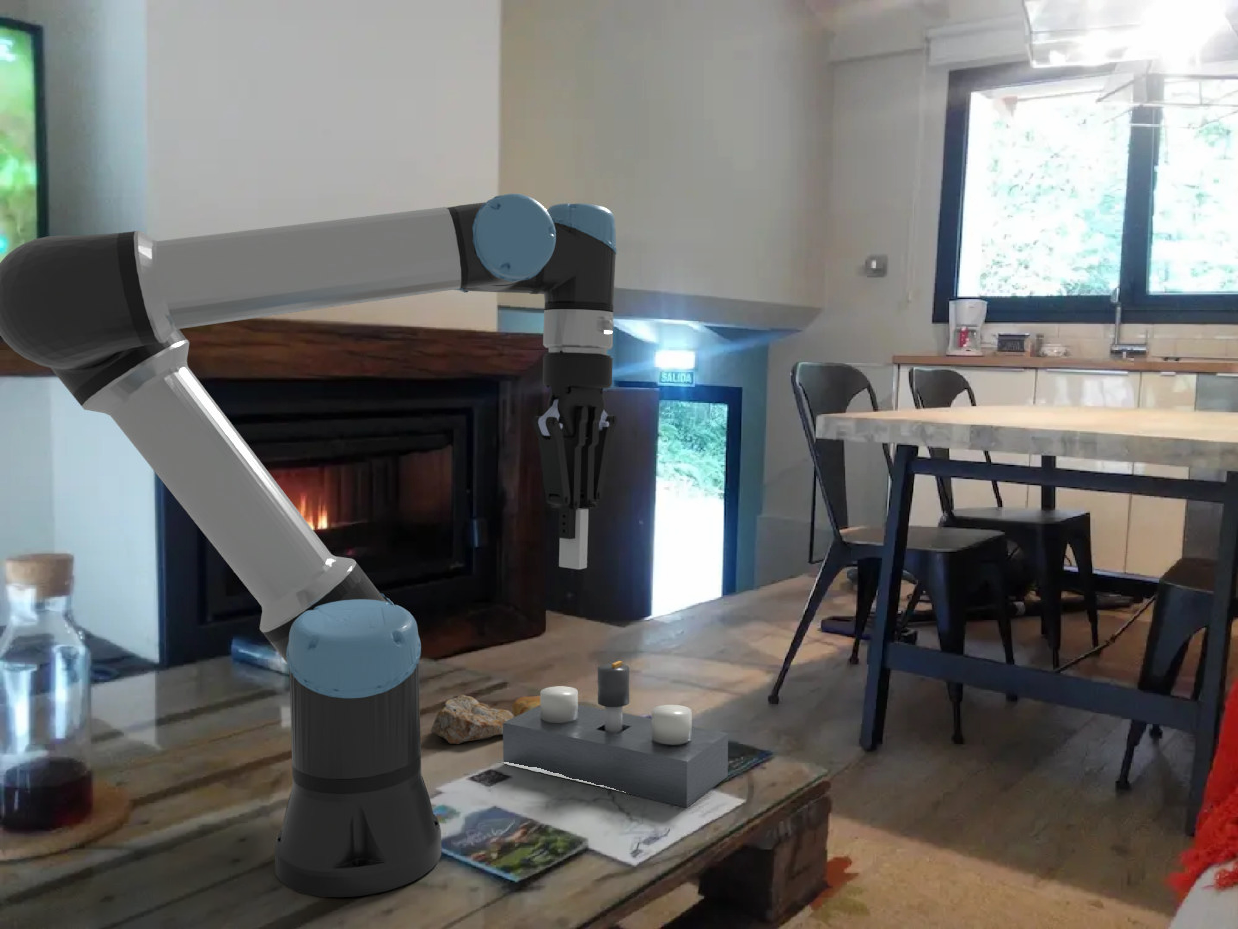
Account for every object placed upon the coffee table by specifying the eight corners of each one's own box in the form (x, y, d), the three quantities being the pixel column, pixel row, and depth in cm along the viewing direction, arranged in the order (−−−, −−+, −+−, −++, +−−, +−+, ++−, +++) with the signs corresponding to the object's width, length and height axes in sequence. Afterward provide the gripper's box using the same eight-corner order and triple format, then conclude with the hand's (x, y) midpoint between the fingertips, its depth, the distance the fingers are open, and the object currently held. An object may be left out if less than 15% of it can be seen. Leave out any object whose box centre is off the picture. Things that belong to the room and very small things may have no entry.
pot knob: (619, 748, 118) (618, 670, 117) (591, 742, 120) (591, 666, 119) (635, 738, 121) (635, 662, 120) (608, 733, 123) (608, 658, 122)
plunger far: (564, 763, 121) (564, 699, 121) (533, 756, 124) (532, 693, 123) (585, 751, 125) (585, 689, 124) (554, 744, 127) (554, 684, 127)
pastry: (499, 716, 140) (499, 688, 140) (545, 709, 143) (545, 681, 143) (527, 737, 132) (527, 708, 132) (576, 729, 135) (576, 700, 135)
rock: (428, 749, 128) (508, 736, 128) (422, 700, 129) (501, 687, 129) (448, 742, 137) (522, 729, 136) (441, 697, 138) (516, 684, 137)
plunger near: (679, 787, 114) (680, 720, 113) (644, 779, 116) (644, 713, 115) (698, 774, 117) (698, 708, 117) (663, 767, 120) (663, 702, 119)
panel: (727, 776, 119) (728, 733, 118) (686, 808, 110) (687, 761, 110) (552, 738, 131) (552, 699, 131) (503, 764, 122) (502, 722, 122)
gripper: (571, 349, 106) (566, 580, 108) (639, 354, 117) (633, 563, 119) (513, 349, 110) (508, 571, 112) (583, 353, 121) (578, 555, 123)
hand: (572, 567), depth 116 cm, fingers closed
